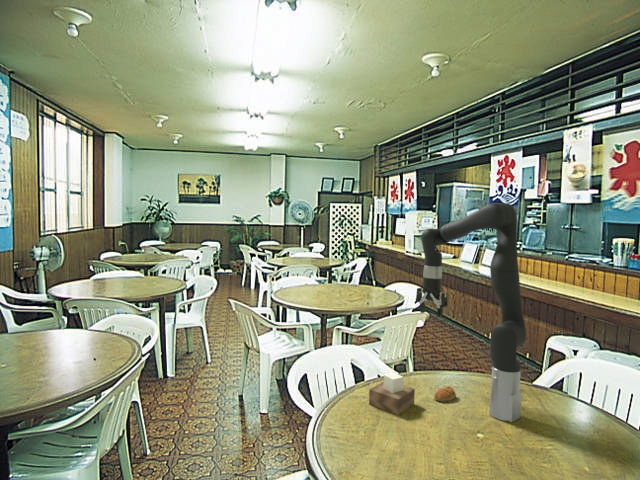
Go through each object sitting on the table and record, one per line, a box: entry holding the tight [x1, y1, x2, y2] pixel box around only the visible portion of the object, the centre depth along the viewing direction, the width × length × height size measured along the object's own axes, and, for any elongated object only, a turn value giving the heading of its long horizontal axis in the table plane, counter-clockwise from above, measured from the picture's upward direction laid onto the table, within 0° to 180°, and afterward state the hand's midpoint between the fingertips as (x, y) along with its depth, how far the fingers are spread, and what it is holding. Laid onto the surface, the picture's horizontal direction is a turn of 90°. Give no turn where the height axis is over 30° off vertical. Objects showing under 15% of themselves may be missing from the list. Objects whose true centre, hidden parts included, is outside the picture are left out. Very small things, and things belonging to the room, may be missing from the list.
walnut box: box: [368, 381, 416, 416], centre depth 159 cm, size 12×12×6 cm
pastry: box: [433, 385, 457, 403], centre depth 166 cm, size 9×7×4 cm
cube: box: [383, 372, 404, 393], centre depth 159 cm, size 5×5×5 cm
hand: (430, 314), depth 181 cm, fingers open, 8 cm apart
